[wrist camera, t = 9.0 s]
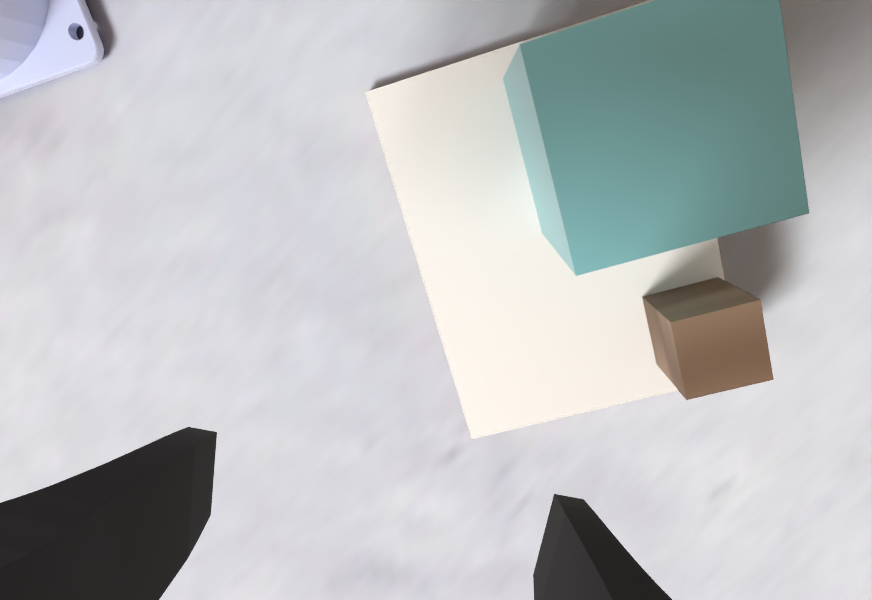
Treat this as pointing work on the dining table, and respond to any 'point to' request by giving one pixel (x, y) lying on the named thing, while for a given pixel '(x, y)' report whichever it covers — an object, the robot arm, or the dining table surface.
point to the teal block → (658, 128)
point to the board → (514, 259)
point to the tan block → (708, 337)
